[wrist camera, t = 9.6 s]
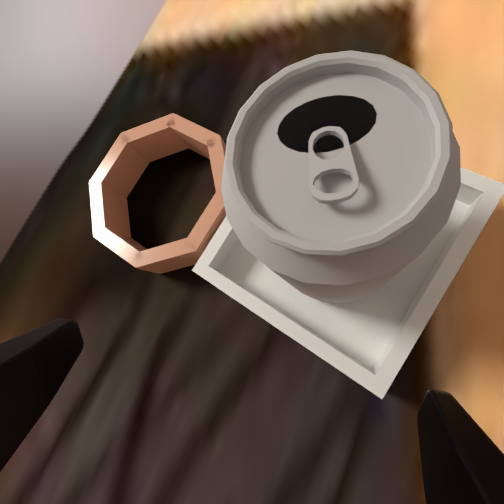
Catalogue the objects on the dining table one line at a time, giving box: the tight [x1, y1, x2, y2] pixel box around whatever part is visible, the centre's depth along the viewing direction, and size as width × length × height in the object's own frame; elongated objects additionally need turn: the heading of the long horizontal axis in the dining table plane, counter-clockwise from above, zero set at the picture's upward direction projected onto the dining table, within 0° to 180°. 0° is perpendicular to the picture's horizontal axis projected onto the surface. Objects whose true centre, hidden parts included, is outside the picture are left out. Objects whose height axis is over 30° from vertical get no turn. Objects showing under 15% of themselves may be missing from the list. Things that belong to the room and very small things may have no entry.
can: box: [221, 51, 461, 303], centre depth 14 cm, size 8×8×12 cm
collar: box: [89, 113, 226, 274], centre depth 23 cm, size 10×10×3 cm
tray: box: [192, 167, 504, 399], centre depth 20 cm, size 13×13×3 cm
